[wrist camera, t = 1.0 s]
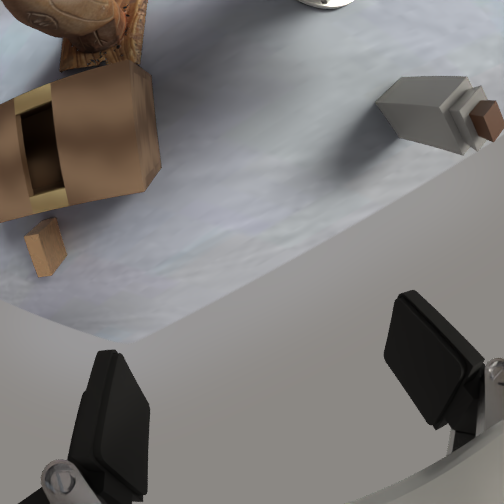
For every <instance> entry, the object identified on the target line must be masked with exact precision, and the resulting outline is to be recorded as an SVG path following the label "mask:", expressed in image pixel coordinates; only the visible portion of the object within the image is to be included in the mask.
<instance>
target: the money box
mask: <svg viewBox="0 0 504 504" xmlns="http://www.w3.org/2000/svg"><path fill="white" fill-rule="evenodd" d="M161 168H162V167H161V160H160V152H159V144H158V136H157V127H156V118H155V108H154V98H153V86H152V75H150V74H149V73H148V72H146V71H145V70H143V69H142V68H141V67H139V66H138V65H136V64H135V63H133V62H132V61H131V60H125V61H120V62H116V63H112V64H108V65H105V66H101V67H97V68H94V69H90V70H87V71H84V72H80V73H77V74H74V75H71V76H68V77H65V78H62V79H59V80H57V81H54V82H51V83H49V84H46V85H43V86H41V87H38V88H36V89H33V90H31V91H29V92H26V93H24V94H22V95H19V96H17V97H15V98H13V99H11V100H9V101H7V102H4V103H2V104H0V223H2V222H6V221H9V220H13V219H17V218H21V217H25V216H29V215H33V214H37V213H41V212H45V211H49V210H54V209H58V208H62V207H67V206H72V205H76V204H81V203H86V202H91V201H96V200H101V199H106V198H111V197H117V196H122V195H128V194H134V193H140V192H145V190H146V189H147V187H148V186H149V184H150V183H151V182H152V180H153V179H154V177H155V176H156V175H157V173H158V172H159V170H160V169H161Z"/></svg>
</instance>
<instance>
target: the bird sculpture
mask: <svg viewBox="0 0 504 504" xmlns="http://www.w3.org/2000/svg"><path fill="white" fill-rule="evenodd" d="M1 1H2V2H3V3H4V5H5V7H6V8H7V9H8V10H9V12H10V13H11V14H12V15H13V16H14V17H15V18H16V19H17V20H18V21H20V22H22V23H23V24H25V25H27V26H30V27H32V28H34V29H37V30H39V31H41V32H43V33H46V34H48V35H51V36H54V37H58V38H63V43H62V50H61V59H60V69H59V72H61V73H62V72H63V71H65V70H68V69H74V68H81V67H88V66H90V67H91V66H93V65H95V66H97V65H99V64H100V63H99V62H102V61H103V60H105V58H106V59H107V60H106V61H108V62H107V63H108V64H111V63H116V62H120V61H125V60H131V61H132V62H133V63H136V64H139V65H140V61H141V60H140V59H141V50H142V44H143V40H142V39H143V36H144V35H143V34H144V27H145V26H144V25H145V16H146V10H147V9H146V8H147V3H148V0H1ZM124 4H125V5H124ZM127 5H129V6H127ZM125 6H127V8H125V9H123V7H125ZM125 15H129V17H128V16H125ZM126 25H127V27H126ZM127 28H129V29H127ZM126 30H127V32H125V31H126ZM125 33H126V34H127V35H125ZM116 44H118V45H117V46H114V45H116ZM72 45H73V47H71V46H72ZM77 50H79V51H77ZM114 50H115V51H114ZM100 51H101V52H100ZM99 52H100V53H101V55H102V57H101V58H100V56H101V55H99V54H100V53H99ZM104 52H107V53H106V54H105V53H104ZM103 53H104V54H103ZM121 55H123V56H121ZM104 56H105V57H104ZM93 57H94V58H93ZM99 58H100V59H99ZM91 59H92V60H95V62H96V63H94V62H93V61H91ZM97 59H98V60H99V62H98V61H96V60H97ZM106 61H105V62H106ZM90 62H91V64H89V65H87V63H90ZM107 63H106V64H107Z"/></svg>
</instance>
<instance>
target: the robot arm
mask: <svg viewBox="0 0 504 504" xmlns="http://www.w3.org/2000/svg"><path fill="white" fill-rule="evenodd" d="M298 1H300V2H302V3H304V4H307V5H310V6H313V7H316V8H323V9H335V8H340V7H343V6H346V5H348V4H349V3H351V2H352V1H354V0H298ZM321 2H322V3H323V4H322V3H321ZM384 359H385V361H386V363H387V364H388V366H389V367H390V369H391V370H392V371H393V373H394V374H395V376H396V377H397V379H398V380H399V382H400V383H401V384H402V386H403V387H404V389H405V390H406V392H407V393H408V395H409V396H410V398H411V399H412V401H413V402H414V404H415V405H416V407H417V408H418V410H419V411H420V413H421V414H422V416H423V417H424V419H425V420H426V422H427V423H428V424H429V425H433V427H434V428H435V430H437V429H439V428H441V427H443V426H444V425H446V424H447V423H449V425H450V427H451V431H450V437H449V444H448V450H447V455H446V457H444V458H442V459H441V460H439V461H438V462H436V463H434V464H432V465H430V466H429V467H427V468H425V469H423V470H421V471H419V472H417V473H415V474H414V475H412V476H410V477H408V478H406V479H404V480H401V481H399V482H398V483H395V484H393V485H391V486H388V487H386V488H384V489H382V490H379V491H377V492H375V493H372V494H370V495H367V496H365V497H362V498H360V499H357V500H354V501H352V502H349V503H346V504H504V359H502V358H494V359H491V360H490V361H489V362H487V364H486V366H485V364H484V363H483V362H484V360H485V359H484V358H483V357H482V356H481V354H480V353H479V352H478V351H477V350H476V349H475V348H474V347H473V346H472V345H471V344H470V343H469V342H468V341H467V340H466V339H465V338H464V337H463V336H462V335H461V334H460V333H459V332H458V331H457V330H456V329H455V328H454V327H453V326H452V325H451V324H450V323H449V322H448V321H447V320H446V319H445V318H444V317H443V316H442V315H441V314H440V313H439V312H438V311H437V310H436V309H435V308H434V307H433V306H432V305H431V304H429V303H428V302H427V301H426V300H425V299H424V298H423V297H422V296H421V295H420V294H419V293H418V292H417V291H415V290H411V291H407V292H404V293H401V294H399V296H398V298H397V299H396V300H395V302H394V307H393V313H392V318H391V323H390V328H389V333H388V337H387V342H386V346H385V350H384ZM149 421H150V407H149V403H148V402H147V400H146V398H145V396H144V394H143V393H142V391H141V389H140V387H139V385H138V384H137V382H136V380H135V378H134V376H133V374H132V372H131V371H130V369H129V367H128V365H127V363H126V361H125V359H124V357H123V355H122V354H121V353H117V351H116V350H104V351H98V353H97V355H96V358H95V361H94V365H93V368H92V371H91V375H90V378H89V382H88V385H87V389H86V391H85V392H84V393H83V395H82V398H81V402H80V406H79V410H78V414H77V418H76V422H75V426H74V431H73V435H72V439H71V444H70V449H69V454H68V459H67V460H63V459H58V460H54V461H52V462H50V463H49V464H48V465H46V467H45V468H44V470H43V471H42V475H41V485H42V487H41V488H40V489H38V490H37V491H36V492H34V493H33V494H31V495H30V496H29V497H27V498H26V499H24V500H23V501H21V502H20V503H18V504H132V501H135V502H143V495H146V494H147V487H148V486H147V485H148V482H147V481H148V480H147V479H148V476H147V475H148V440H149Z"/></svg>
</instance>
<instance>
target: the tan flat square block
mask: <svg viewBox="0 0 504 504" xmlns="http://www.w3.org/2000/svg"><path fill="white" fill-rule="evenodd" d="M24 239H25V242H26V245H27V248H28V251H29V254H30V256H31V259H32V262H33V265H34V267H35V270H36V273H37V275H38V277H44V276H52V275H53V273H54V272H55V271H56V269H57V268H58V267H59V265H60V264H61V263H62V261H63V260H64V259H65V257H66V256H67V253H66V249H65V246H64V243H63V240H62V236H61V233H60V230H59V226H58V222H57V219H56V217H55V218H51V219H46V220H43V221H41V222H40V223H39V224H38V225H37V226H36V227H34V228H33V229H32V230H31V231H30V232H29V233H28V234H26V235H25V236H24Z"/></svg>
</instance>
